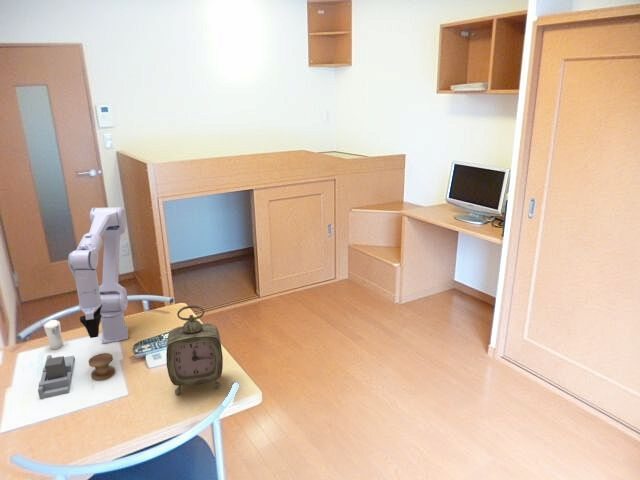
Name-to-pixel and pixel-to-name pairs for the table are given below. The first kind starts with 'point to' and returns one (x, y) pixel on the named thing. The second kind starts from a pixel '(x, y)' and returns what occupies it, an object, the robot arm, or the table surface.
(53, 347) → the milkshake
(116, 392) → the table surface
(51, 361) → the dark grey block
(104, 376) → the spool
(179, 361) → the tabletop clock
